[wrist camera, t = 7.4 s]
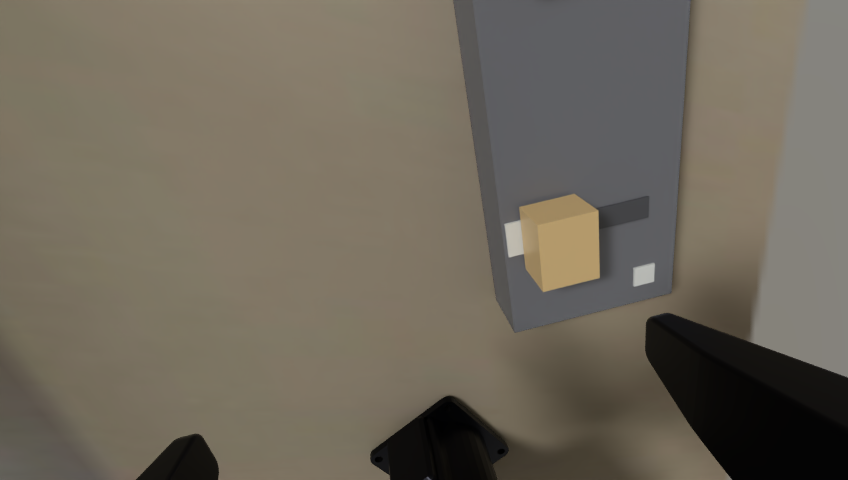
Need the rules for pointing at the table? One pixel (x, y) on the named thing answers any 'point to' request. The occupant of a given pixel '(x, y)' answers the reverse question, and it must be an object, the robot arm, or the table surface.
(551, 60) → the grey slider switch box
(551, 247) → the outlet switch
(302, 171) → the table surface
